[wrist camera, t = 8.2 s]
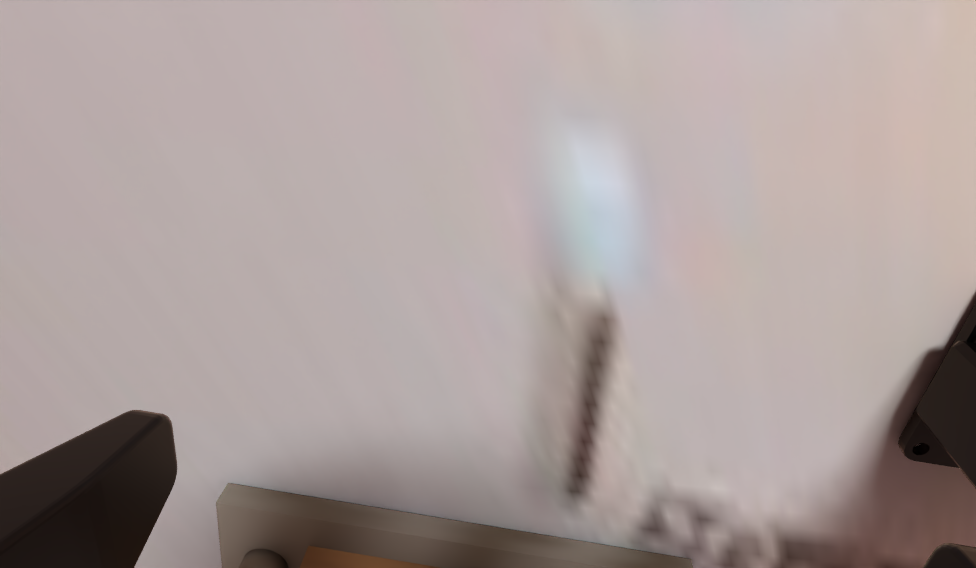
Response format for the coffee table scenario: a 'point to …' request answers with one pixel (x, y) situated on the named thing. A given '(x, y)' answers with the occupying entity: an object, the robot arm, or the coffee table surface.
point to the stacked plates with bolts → (391, 539)
